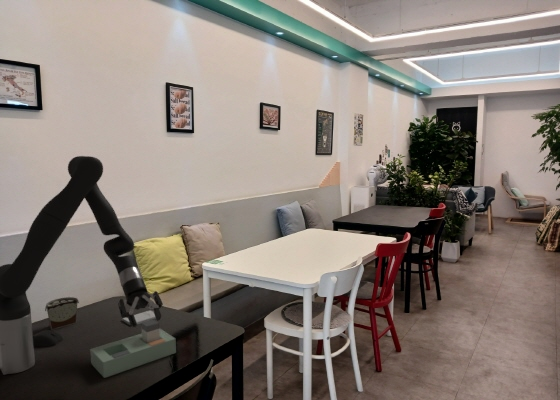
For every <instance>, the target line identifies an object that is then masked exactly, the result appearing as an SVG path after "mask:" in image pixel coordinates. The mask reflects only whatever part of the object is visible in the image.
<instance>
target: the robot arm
mask: <svg viewBox="0 0 560 400" xmlns="http://www.w3.org/2000/svg"><path fill="white" fill-rule="evenodd" d="M67 172H68V174H69V176H70V180H69V181H68V182H67V184H66V185H65V186H64V188H62V190H61V191H60V192H58V193H57V194H56V195H55V196H54V197H52V198H51V199H50V200H49V201H48V202H47V203H46V204H45V205H44V206H43V207H42V209H41V210H40V211H39V212H38V214H37V215H36V217H35V218H34V220H33V221H32V223H31V225H30V227H29V229H28V233H27V236H26V238H25V240H24V241H25V242H24V245H23V247H22V249H21V250H20V253H18V255H17V256H16V257H15V259H14V261H13V262H12V263H7V264H3V265H0V371H1V373H2V375H4V376H5V375H9V374H10V375H12V374H18V373H21V372H24V371H27V370H29V369H31V368H32V367H33V366H35V364H36V359H35V346H34V345H33V336H34V335H33V334H34V333H33V324H32V323H33V322H32V312H31V310H32V308H31V304H30V302H29V299H28V295H27V291H28V290H29V289H30V287H31V285H32V284H33V283H34V282H33V281H34V279H35V277H36V275H37V273H38V272H39V269H40V268H41V265H42V264H43V262H44V260H45V259H46V258H47V256H48V255H49V254H50V251H51V250H52V249H53V247H54V246H55V244H56V243H57V241H58V240H59V238H60V237H61V236H62V234H63V232H65V229H66V228H67V226H68V225H69V223H70V221H71V220H72V218H73V217H74V215H75V213H76V212H77V211H78V209H79V207H80V205H81V204H82V203H83V201H84V200H85V201H86V203H87V204H88V206H89V208H90V209H91V212H92V215H93V217H94V218H95V221H96V223H97V225H98V228H99V230H100V232H101V234H102V235H104V236H113V235H114V236H115V235H117V236H115V237H113V238H110V239H108V240H106V241H105V242H104V244H103V251H104V253H105V254H106V256H107V257H108V258H109V259H110V261H112V263H113V265H114V267H115V269H116V271H117V275H118V278H119V283H120V286H121V288H122V291H123V293H124V297H125V299H123V298H120V299H119V300H118V301H119V302H117V306H118V309H119V313H120V316H121V319H123V318H128V319H129V322H130V325H129V326H131V327H132V328H133V329H134V328H137V325H138V324H137V323H136V320H135V317H134V315H135V314H133V313H134V312H135V310H136V311H137V310H140V309H145V308H147V309H150V310H151V311H153V312H154V314H155V317H156V321H157V322H158V321H161V318H162V314H161V311H160V309H161V308H162V307H163V303H164V302H163V301H162V299H161V296H160V295H159V293H158V291H156V290H155V291H154V292H152V293H150V292H148V288H147V286H146V284H145V281H144V279H143V278H144V277H143V276H142V273H141V271H140V269H139V267H138V265H137V262H136V259H135V257H134V256H133V255H125V254H128V253H130V252H132V251H133V250H134V248H135V243H134V240H133V239H132V237H131V236H130V235H129V234H128V233H127V232H126V230H125V229H124V228H123V226H122V225H121V223H120V220H119V218H118V215H117V213H116V211H115V210H114V208H113V206H112V204H111V203H110V202H109V200H108V199H107V198H106V197H105V195H104V194H103V192H102V191H101V189H100V187H99V185H98V182H99V181H100V179H101V177H102V176H103V173H104V165H103V163H102V161H101V160H100V159H99V158H97V157H95V156H88V155H87V156H85V155H77V156H75V157H73V158H71V159H70V161H69V162H68V166H67ZM153 300H154V301H153ZM126 304H127V305H128V306H130V308H129V312H128V311H127V309H126Z"/></svg>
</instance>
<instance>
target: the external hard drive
mask: <svg viewBox="0 0 560 400" xmlns="http://www.w3.org/2000/svg"><path fill="white" fill-rule="evenodd" d="M133 315H134V317H135V320H136V323H137V325H141V323H142V322H145V321H149V320H153V319H154V320H155V319H156V317H155V314H154V311H153V310H152V309H150V310H146V311H143V312H139V313H137V314H133ZM156 320H157V319H156ZM121 321H122V322H124V323H125V324H127V325H129V326H131V325H130V322H129V319H128V318H126V317H125V318H121Z"/></svg>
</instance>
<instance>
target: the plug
mask: <svg viewBox="0 0 560 400" xmlns="http://www.w3.org/2000/svg"><path fill="white" fill-rule="evenodd" d="M140 325H141V327H140V328H141V334H142V341H143V342H145V343H146V344H148V343H150V342H154V341H157V340H160V330H159V328H160V322H158V321H157V320H155V319H153V320H149V321H145V322H142V323H140Z"/></svg>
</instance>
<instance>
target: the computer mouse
mask: <svg viewBox="0 0 560 400" xmlns="http://www.w3.org/2000/svg"><path fill="white" fill-rule="evenodd" d="M63 340H64V339H63V336H62V335H61V334H60V333H59V332H57V331H55V330H51V329H50V330H48V329H46V330H42V331H40V332H38V333H36V334H35V335H33V345H34V347H54V346H57V345H58V344H59V343H60V342H62V341H63ZM56 344H57V345H56Z"/></svg>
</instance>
